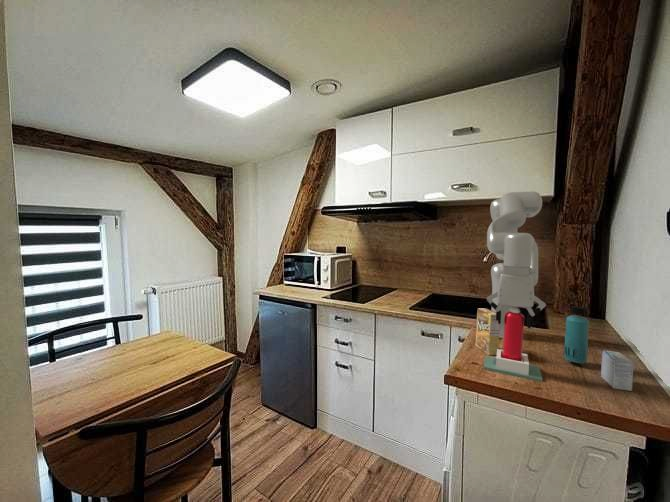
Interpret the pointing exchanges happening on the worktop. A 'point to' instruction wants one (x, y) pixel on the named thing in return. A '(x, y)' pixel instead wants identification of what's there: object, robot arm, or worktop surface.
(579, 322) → the beverage bottle
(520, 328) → the bottle
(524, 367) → the board
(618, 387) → the medicine box
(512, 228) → the robot arm
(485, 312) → the candy box
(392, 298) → the worktop surface
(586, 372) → the worktop surface
